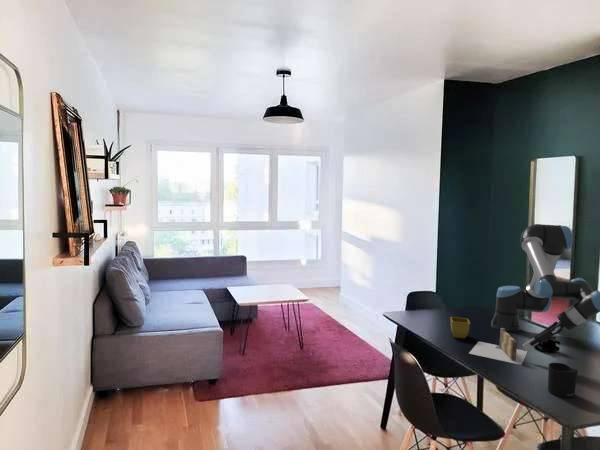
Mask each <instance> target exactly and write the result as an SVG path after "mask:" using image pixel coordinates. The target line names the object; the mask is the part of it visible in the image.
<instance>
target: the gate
mask: <svg viewBox="0 0 600 450" xmlns="http://www.w3.org/2000/svg"><path fill="white" fill-rule="evenodd" d="M499 332H500V334H499V347H501V348H502V349H503V350H504V352H505V353H506V354H507V355H508V356H509V357H510V358H511V359H512V360H516V350H517V349H518V341H517V340H515V338H514V337H512V336H511V335H510V334H509V333H508V331H505V328H501V330H499Z"/></svg>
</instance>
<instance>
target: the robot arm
mask: <svg viewBox="0 0 600 450" xmlns="http://www.w3.org/2000/svg"><path fill="white" fill-rule="evenodd" d="M573 241H574V237H573V233H572V230H571V228H570V227H569V226H567V225H560V224H558V225H557V224H540V223H538V224H536V223H535V224H531V225H529V226H528V227H526V228H525V229H523V231H522V233H521V235H520V239H519V242H520V247H521V248H522V251H524V252H525V253H526V255H527V258H528V259H529V260H528V261H529V262H530V264H531V267H532V270H533V276H532V278H531V281H530V283H528V284H527V285H526V287H525V289H521V287H520V286H517V285H502V286H499V287H498V288H497V291H496V300H495V301H496V302H495V312H494V315H493V318H492V319H491V322H490V326H491V328H492V329H494V330H498V331H501V328H505V331H506V332H511V333H513V332H514V333H517V332H520V331H521V329H522V326H521V322H520V317H519V312H520V311H521V312H529V313H530V312H533V313H546V312H547V311H548V310H550V307H551V305H552V299H563V300H565V299H566V300H576V301H577V302H576V303H574V304H572V305H571V306H569V307H568V308H566V309H565V311H562V312H560V313H559V314H557V316H556V317H557V319H558V321H554V322H553V323H551V325H549V326H548V327H546V328H544V329H543V330H542V331H540V333H537V334H536V335H534V336H533V338H531V339H530V340H528V341H526V342H525V343H523V344H522V348H523V349H524V351H527V352H528V350H530V349H532V348H534V346H535V345H537V344H538V343H542V342H543V341H545V340H547V339H548V338H550V337H554V336H555V335H558V334H559V333H561V332H563V329H564V328H565V329H566V330H568V331H571V330H573V329H574V328H575V329H576V327H577V325H581V324H582V323H583V324H585V323H586V321H587V320H589V319H591V318H593V316H595V315H597V314H598V313H600V290H597V289H596V290H595V291H594V290H593V288H592V287H591V285H590V284H589V283H588V282H587V281H586V280H585V279H584V278H582V277H576V278H573V279H570V281H567V280H566V281H564V280H558V279H557V276H556V273H555V269H556V266H557V263H558V261H559V257H560V256H562V255H563V254H564V253H565V252H566V251H565V250H570V249H571V248H572V246H573V243H574V242H573Z"/></svg>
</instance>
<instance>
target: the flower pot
mask: <svg viewBox="0 0 600 450" xmlns="http://www.w3.org/2000/svg"><path fill="white" fill-rule="evenodd" d="M449 320H450V331H451V333H452V336H453V338H456V339H466V337H467V336H468V334H469V331H470V327H471V322H470V320H469V319H468V318H464V317H456V316H455V317H454V316H450V318H449Z"/></svg>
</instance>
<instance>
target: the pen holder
mask: <svg viewBox="0 0 600 450" xmlns="http://www.w3.org/2000/svg"><path fill="white" fill-rule="evenodd" d="M578 370H579V369H577V368H572V367H570V366H568V364H566V363H563V362H562V363H561V362H550V363H548V375H547V376H548V378H547V390H548V392H549V393H550V394H551V395H554V396H556V397H559V398H562V399H563V398H565V399H572V398H574V397H575V393H576V386H577V379H578V378H577V377H578V372H579V371H578Z"/></svg>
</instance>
